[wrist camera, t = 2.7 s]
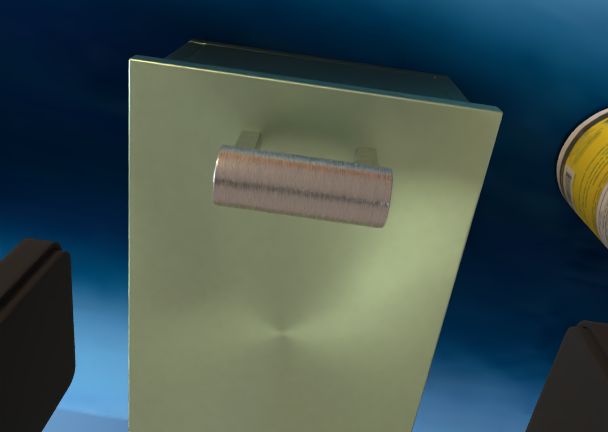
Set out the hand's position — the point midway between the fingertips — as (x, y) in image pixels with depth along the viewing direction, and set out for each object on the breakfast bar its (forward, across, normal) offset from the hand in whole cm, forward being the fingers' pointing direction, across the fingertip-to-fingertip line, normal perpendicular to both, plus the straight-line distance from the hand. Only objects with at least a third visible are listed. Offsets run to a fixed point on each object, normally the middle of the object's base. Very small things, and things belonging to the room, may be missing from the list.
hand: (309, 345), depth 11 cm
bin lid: (+11, +1, +8) cm, 14 cm away
